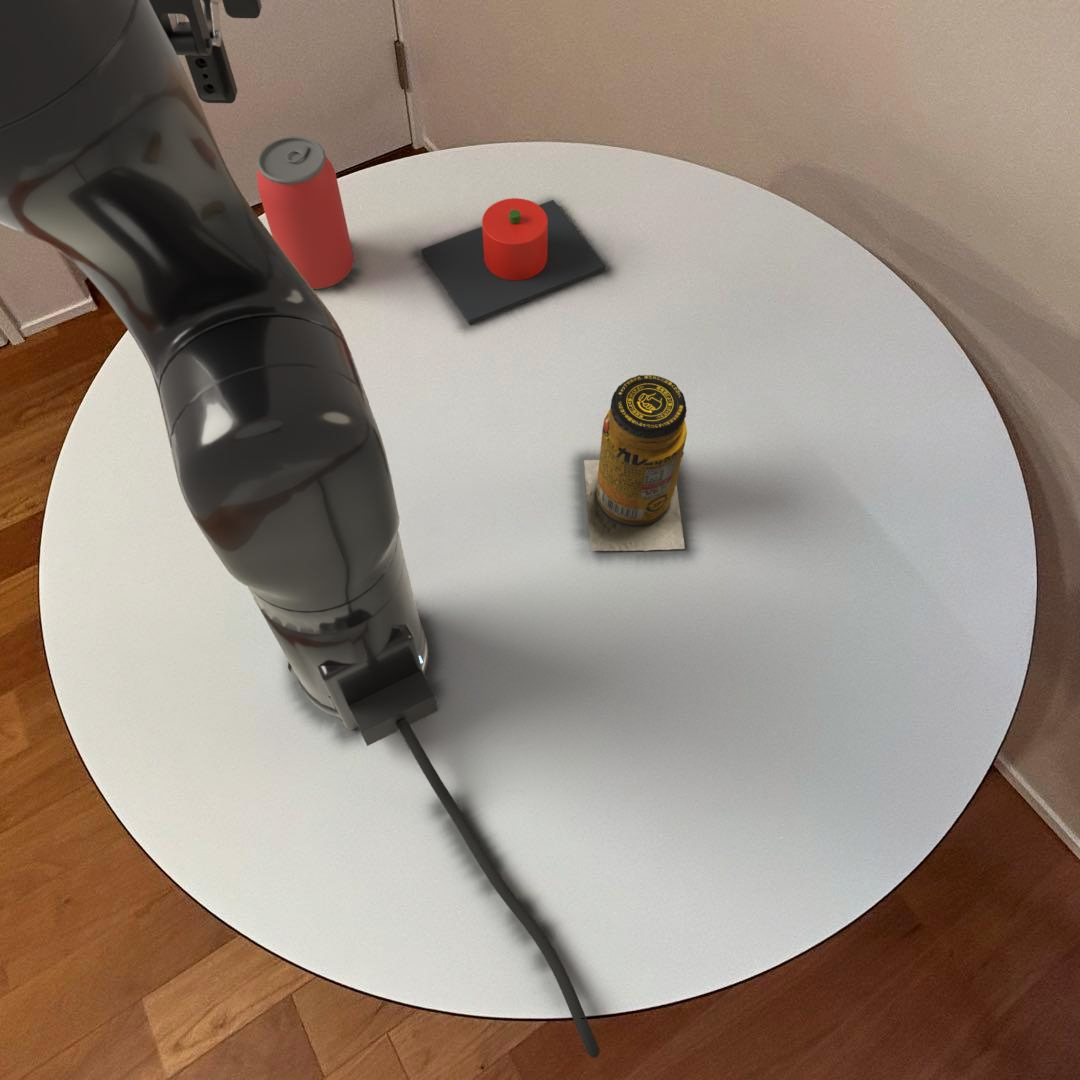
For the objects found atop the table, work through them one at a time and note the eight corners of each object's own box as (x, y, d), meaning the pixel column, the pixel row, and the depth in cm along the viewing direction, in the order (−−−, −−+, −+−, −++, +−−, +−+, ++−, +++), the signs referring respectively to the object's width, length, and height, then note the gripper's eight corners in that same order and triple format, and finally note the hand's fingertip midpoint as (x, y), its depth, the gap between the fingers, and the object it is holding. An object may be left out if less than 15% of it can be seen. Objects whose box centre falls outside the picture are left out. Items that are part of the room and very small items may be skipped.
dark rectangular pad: (605, 270, 90) (605, 265, 90) (469, 325, 87) (468, 320, 86) (553, 204, 95) (553, 199, 94) (421, 253, 91) (420, 249, 91)
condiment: (673, 459, 80) (693, 362, 69) (684, 550, 75) (708, 461, 65) (583, 461, 80) (590, 364, 69) (590, 552, 75) (598, 464, 65)
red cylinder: (558, 267, 90) (559, 222, 85) (502, 289, 88) (500, 245, 84) (528, 227, 92) (528, 182, 88) (473, 248, 91) (470, 203, 86)
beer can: (369, 258, 91) (347, 149, 80) (324, 303, 88) (296, 196, 78) (313, 231, 93) (285, 121, 82) (268, 274, 90) (233, 165, 79)
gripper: (189, -185, 43) (274, 132, 57) (246, -323, 50) (309, -11, 64) (20, -188, 43) (146, 129, 57) (101, -325, 50) (196, -13, 64)
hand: (233, 55), depth 61 cm, fingers open, 8 cm apart
